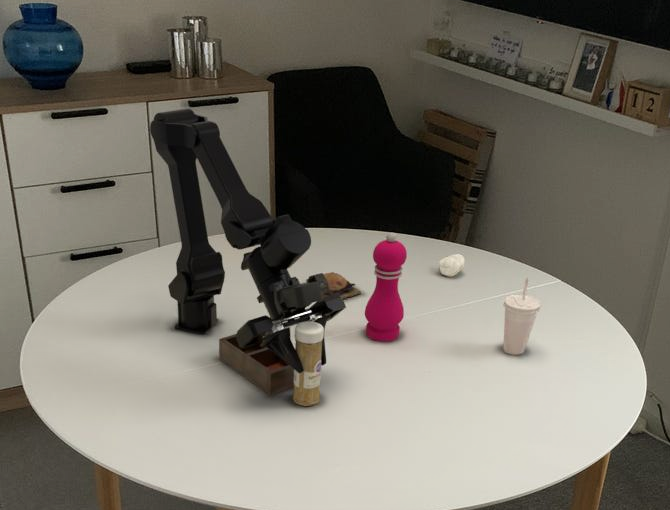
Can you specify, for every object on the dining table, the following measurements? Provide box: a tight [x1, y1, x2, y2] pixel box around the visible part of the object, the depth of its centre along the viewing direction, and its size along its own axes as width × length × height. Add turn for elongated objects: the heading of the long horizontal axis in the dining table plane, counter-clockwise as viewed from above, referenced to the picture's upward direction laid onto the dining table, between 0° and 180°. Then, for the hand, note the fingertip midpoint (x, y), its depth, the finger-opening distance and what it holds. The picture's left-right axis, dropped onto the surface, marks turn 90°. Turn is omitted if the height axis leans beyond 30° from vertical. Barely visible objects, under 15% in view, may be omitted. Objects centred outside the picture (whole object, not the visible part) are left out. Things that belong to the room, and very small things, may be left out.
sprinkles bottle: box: [292, 322, 325, 407], centre depth 143 cm, size 5×5×13 cm
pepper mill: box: [364, 232, 408, 342], centre depth 162 cm, size 7×7×20 cm
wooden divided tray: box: [218, 333, 294, 396], centre depth 154 cm, size 15×8×4 cm, turn 35°
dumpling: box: [438, 253, 466, 277], centre depth 192 cm, size 7×5×4 cm
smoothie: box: [502, 276, 542, 356], centre depth 158 cm, size 6×6×14 cm
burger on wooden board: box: [305, 271, 362, 300], centre depth 183 cm, size 11×8×4 cm
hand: (312, 368), depth 142 cm, fingers closed on sprinkles bottle, 4 cm apart
